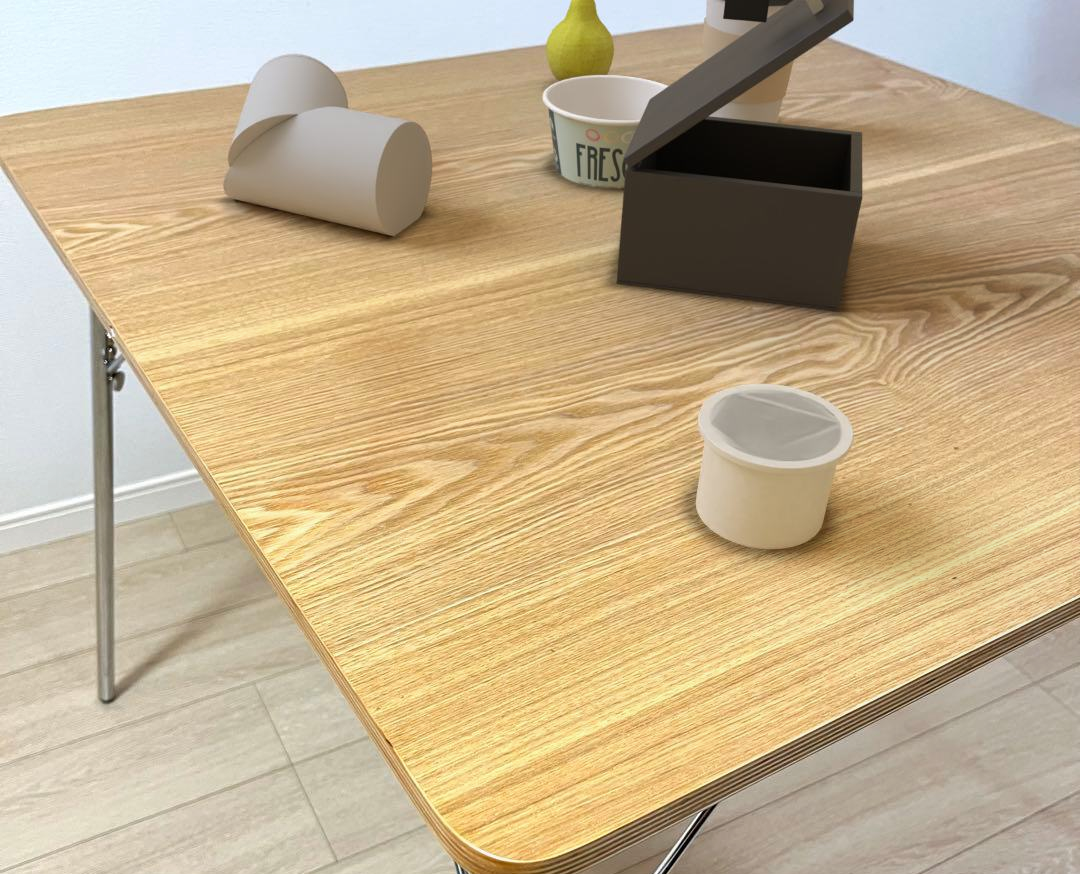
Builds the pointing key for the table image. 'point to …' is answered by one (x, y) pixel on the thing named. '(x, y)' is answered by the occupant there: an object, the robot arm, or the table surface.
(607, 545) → the table surface
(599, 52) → the fruit
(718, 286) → the open brown storage bin
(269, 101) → the elbow connector
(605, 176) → the food container
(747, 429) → the white short cylinder
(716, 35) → the coffee cup
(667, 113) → the lid
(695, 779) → the table surface
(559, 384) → the table surface
